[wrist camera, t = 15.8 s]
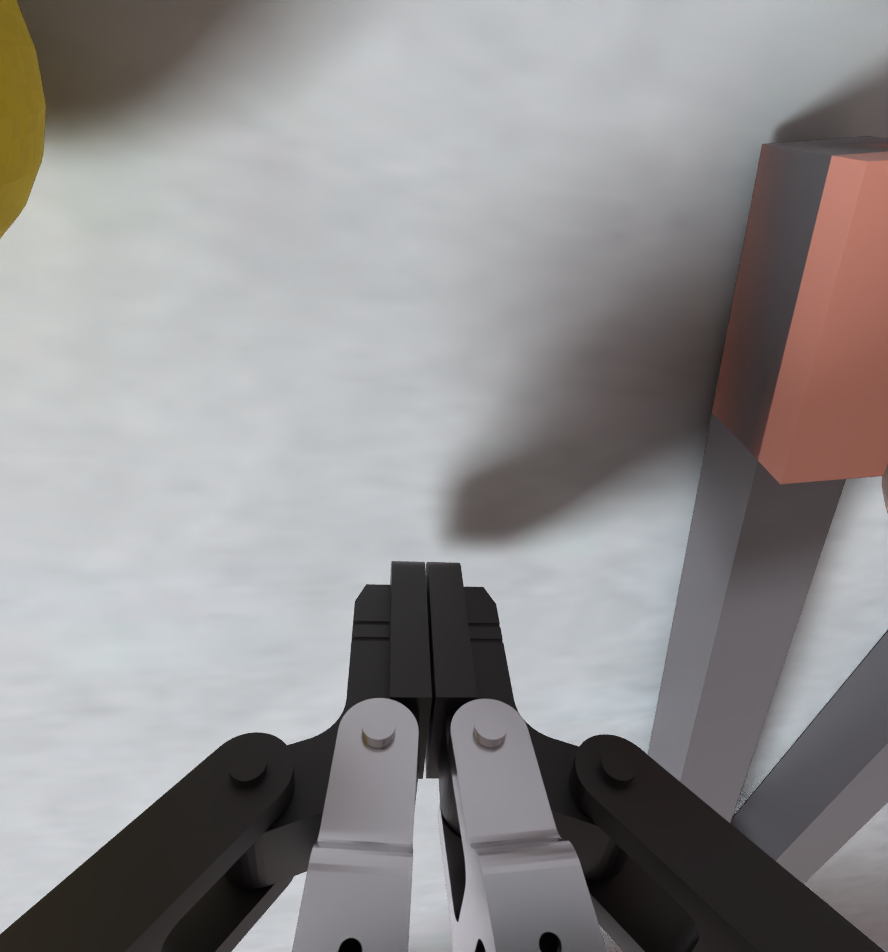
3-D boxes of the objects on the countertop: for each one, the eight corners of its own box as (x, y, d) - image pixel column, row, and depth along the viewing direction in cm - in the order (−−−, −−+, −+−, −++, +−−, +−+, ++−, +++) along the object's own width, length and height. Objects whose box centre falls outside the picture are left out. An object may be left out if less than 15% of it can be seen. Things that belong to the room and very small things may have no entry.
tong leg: (681, 836, 22) (714, 925, 20) (631, 840, 22) (659, 930, 20) (868, 135, 10) (1005, 151, 8) (762, 144, 10) (867, 161, 8)
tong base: (715, 890, 25) (752, 986, 23) (610, 884, 25) (635, 983, 22) (1337, 196, 12) (1614, 229, 9) (1147, 136, 11) (1388, 152, 8)
